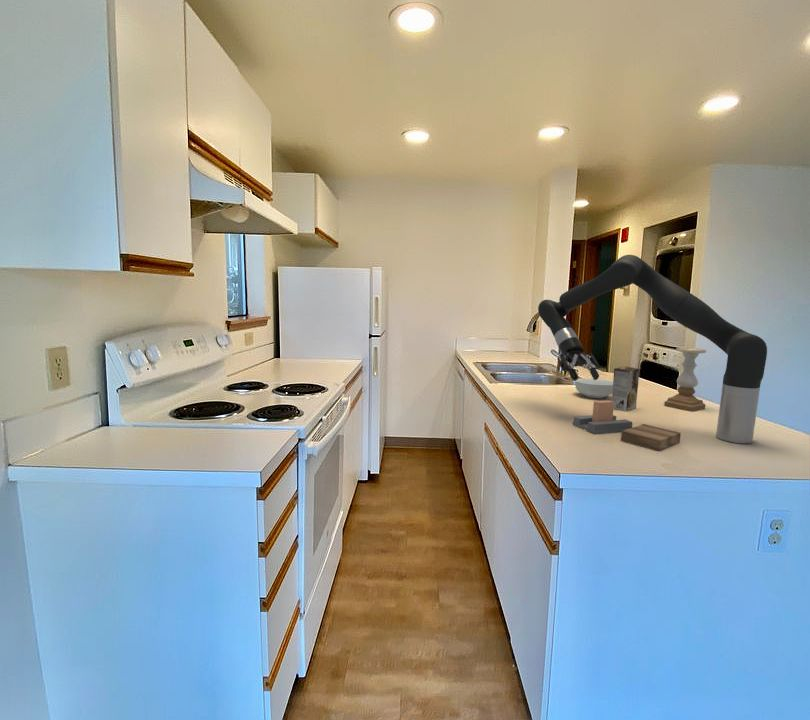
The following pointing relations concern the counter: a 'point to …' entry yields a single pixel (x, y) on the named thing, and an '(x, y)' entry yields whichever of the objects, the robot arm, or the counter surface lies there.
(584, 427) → the rack
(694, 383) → the candle holder
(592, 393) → the cereal bowl
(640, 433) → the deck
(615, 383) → the coffee box
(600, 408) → the tile
